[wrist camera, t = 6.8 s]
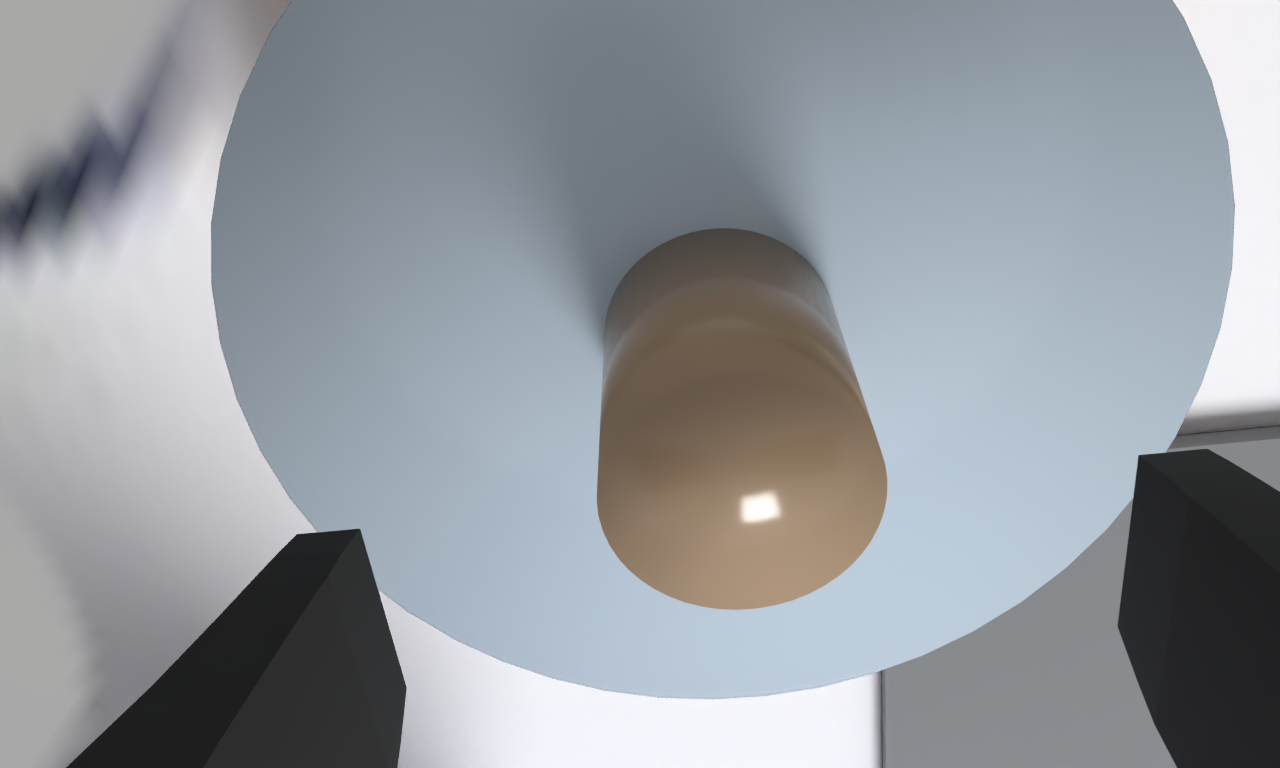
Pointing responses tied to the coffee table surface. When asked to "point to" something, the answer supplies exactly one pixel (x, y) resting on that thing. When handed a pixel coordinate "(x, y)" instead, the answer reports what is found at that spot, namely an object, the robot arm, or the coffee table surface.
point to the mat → (1047, 665)
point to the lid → (719, 312)
